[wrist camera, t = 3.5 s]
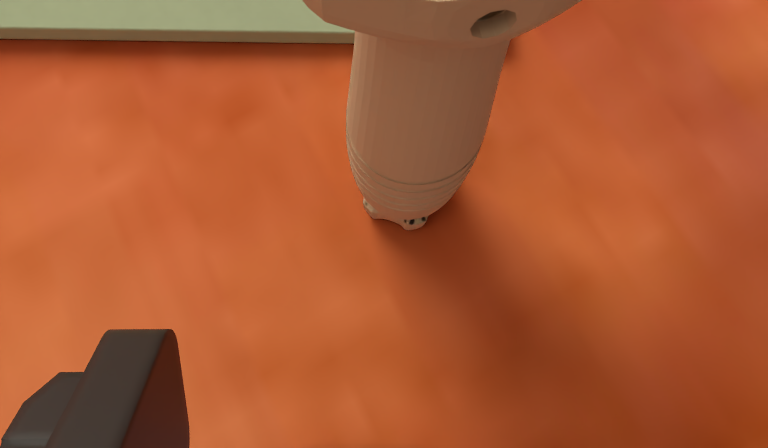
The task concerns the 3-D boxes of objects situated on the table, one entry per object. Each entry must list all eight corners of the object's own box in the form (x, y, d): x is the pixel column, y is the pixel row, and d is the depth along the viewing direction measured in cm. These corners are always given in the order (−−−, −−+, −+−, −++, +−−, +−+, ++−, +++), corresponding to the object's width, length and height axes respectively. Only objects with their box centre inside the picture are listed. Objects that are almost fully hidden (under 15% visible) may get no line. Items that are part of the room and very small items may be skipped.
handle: (506, 235, 25) (700, -42, 11) (329, 273, 25) (293, 30, 10) (471, 114, 27) (603, -269, 12) (302, 147, 26) (239, -219, 12)
